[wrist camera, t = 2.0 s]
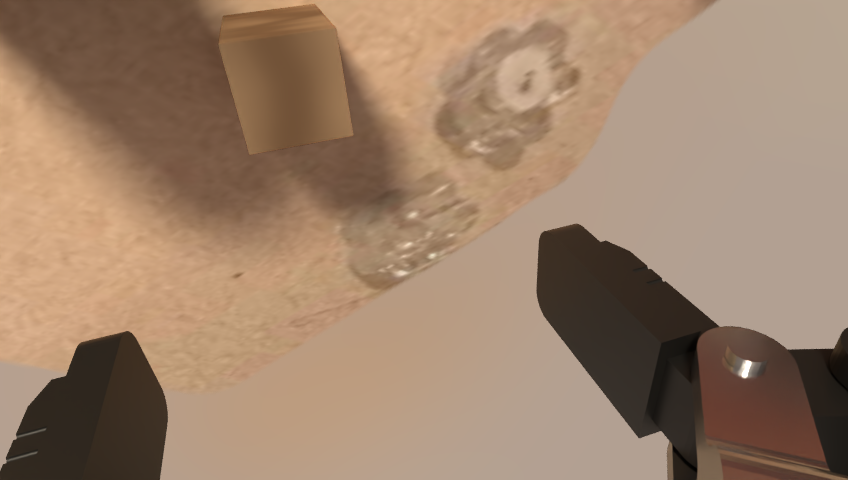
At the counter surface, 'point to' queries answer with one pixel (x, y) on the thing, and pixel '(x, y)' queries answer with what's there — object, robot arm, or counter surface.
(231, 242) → the counter surface
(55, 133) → the counter surface
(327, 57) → the walnut block
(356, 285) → the counter surface
